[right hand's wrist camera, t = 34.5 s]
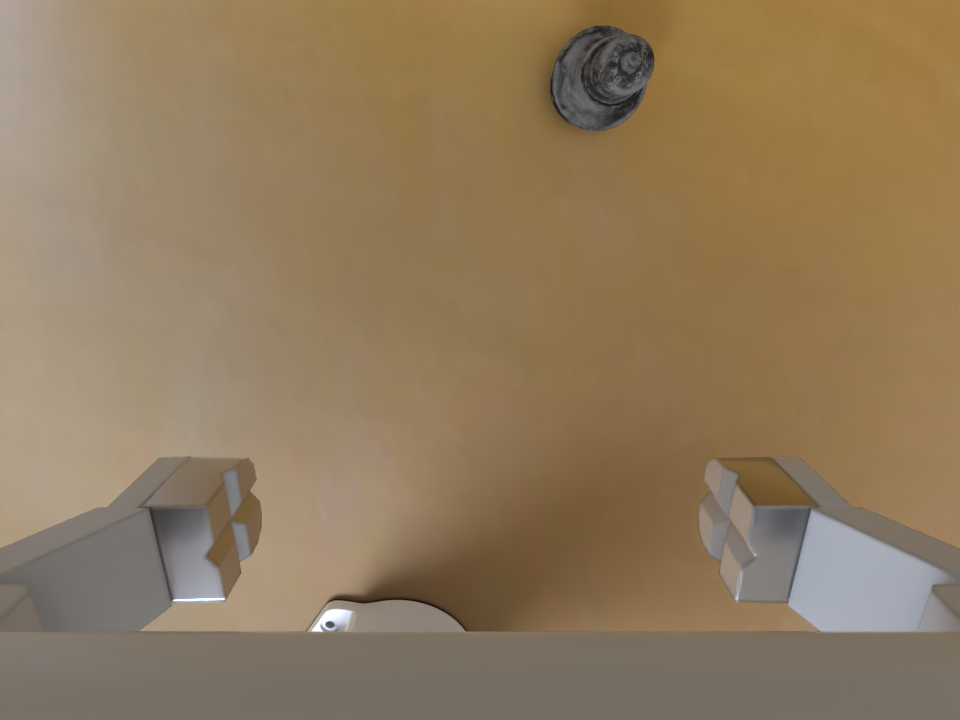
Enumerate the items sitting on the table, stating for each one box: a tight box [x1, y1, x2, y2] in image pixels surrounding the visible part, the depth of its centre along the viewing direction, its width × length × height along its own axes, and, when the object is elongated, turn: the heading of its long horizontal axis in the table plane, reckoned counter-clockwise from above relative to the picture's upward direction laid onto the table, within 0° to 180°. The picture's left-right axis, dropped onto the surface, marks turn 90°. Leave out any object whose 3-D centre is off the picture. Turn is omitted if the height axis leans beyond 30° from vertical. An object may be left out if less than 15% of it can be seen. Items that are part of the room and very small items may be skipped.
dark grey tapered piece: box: [550, 26, 654, 131], centre depth 33 cm, size 6×6×12 cm
